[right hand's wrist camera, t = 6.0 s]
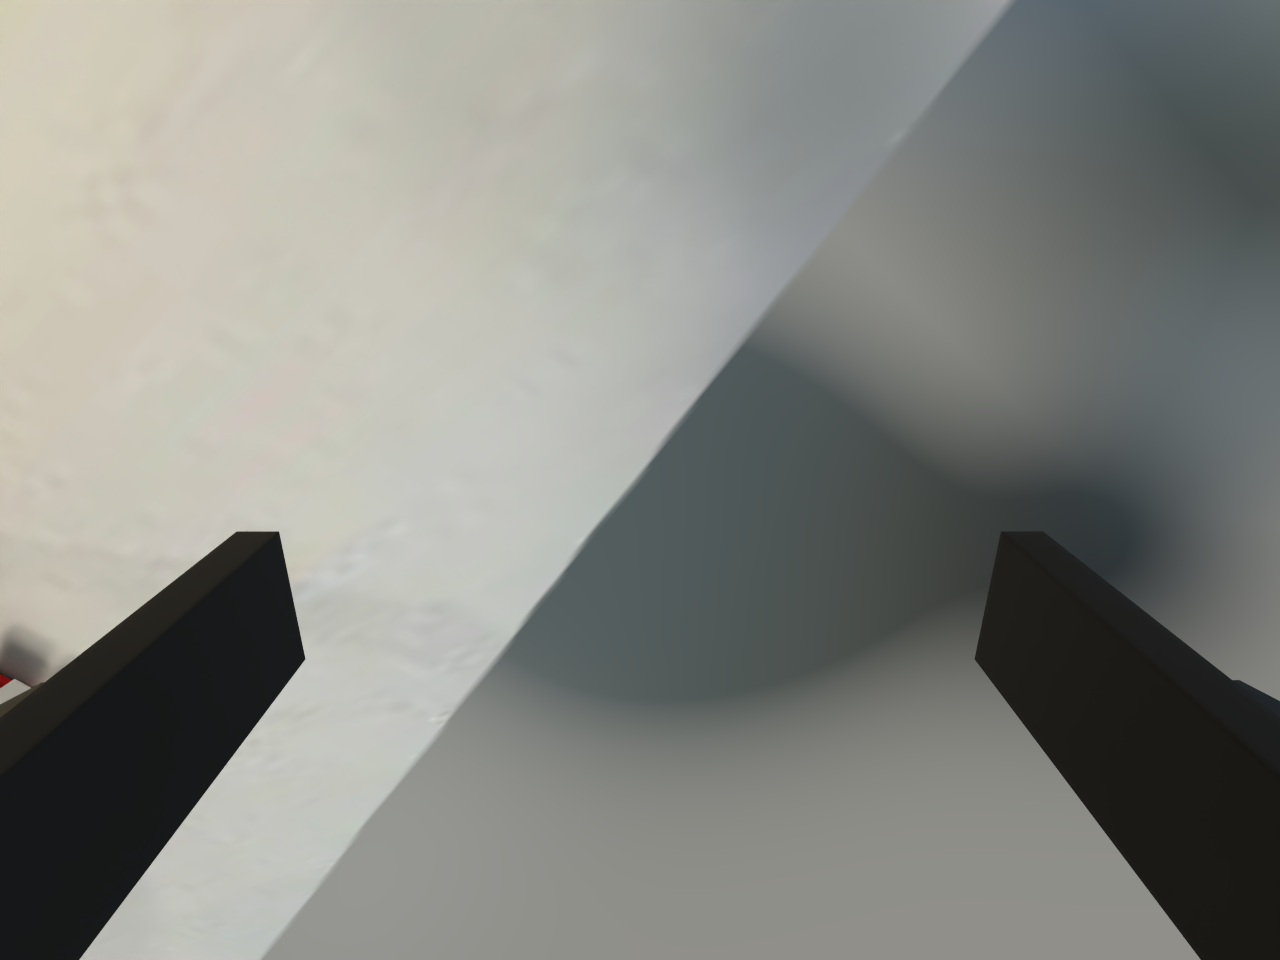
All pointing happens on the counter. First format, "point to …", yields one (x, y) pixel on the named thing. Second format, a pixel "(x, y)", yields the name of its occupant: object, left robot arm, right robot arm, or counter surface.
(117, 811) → the right robot arm
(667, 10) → the counter surface
